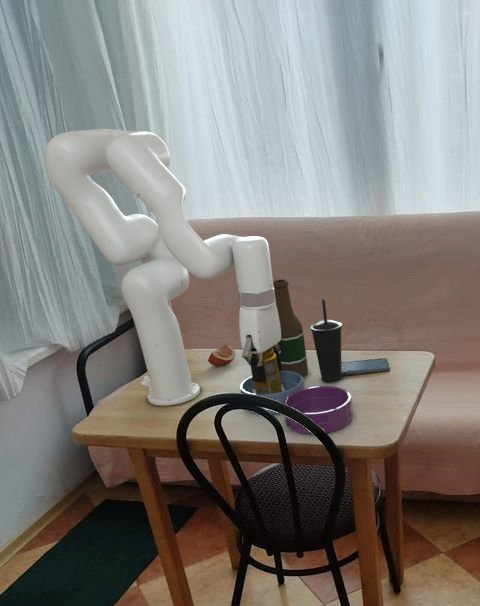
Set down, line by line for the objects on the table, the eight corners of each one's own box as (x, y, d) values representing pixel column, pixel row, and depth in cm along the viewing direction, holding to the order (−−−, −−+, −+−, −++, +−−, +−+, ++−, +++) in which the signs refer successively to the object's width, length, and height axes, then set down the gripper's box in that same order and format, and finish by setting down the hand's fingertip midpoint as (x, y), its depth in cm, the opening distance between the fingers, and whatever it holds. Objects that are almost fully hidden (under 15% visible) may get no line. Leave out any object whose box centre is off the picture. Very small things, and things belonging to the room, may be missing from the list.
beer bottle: (307, 380, 157) (294, 283, 146) (276, 382, 158) (261, 286, 146) (309, 368, 164) (298, 275, 152) (280, 370, 165) (266, 278, 153)
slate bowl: (231, 411, 144) (227, 391, 142) (264, 387, 155) (261, 368, 153) (285, 418, 138) (282, 397, 136) (316, 393, 150) (313, 373, 147)
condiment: (282, 384, 150) (274, 336, 144) (287, 399, 143) (278, 349, 136) (252, 390, 149) (242, 342, 143) (255, 405, 142) (245, 355, 135)
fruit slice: (221, 359, 176) (218, 342, 174) (242, 360, 174) (239, 343, 171) (204, 370, 169) (201, 352, 167) (226, 371, 167) (222, 353, 165)
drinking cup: (340, 386, 152) (332, 304, 142) (311, 383, 155) (301, 303, 145) (351, 374, 158) (344, 295, 149) (323, 372, 161) (315, 294, 151)
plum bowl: (274, 431, 133) (270, 409, 131) (306, 403, 145) (303, 383, 142) (334, 439, 128) (332, 417, 125) (363, 410, 139) (361, 389, 137)
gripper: (263, 286, 143) (273, 360, 152) (219, 308, 130) (232, 388, 139) (292, 288, 140) (300, 364, 149) (250, 310, 127) (261, 392, 136)
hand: (267, 375), depth 144 cm, fingers closed on condiment, 6 cm apart
